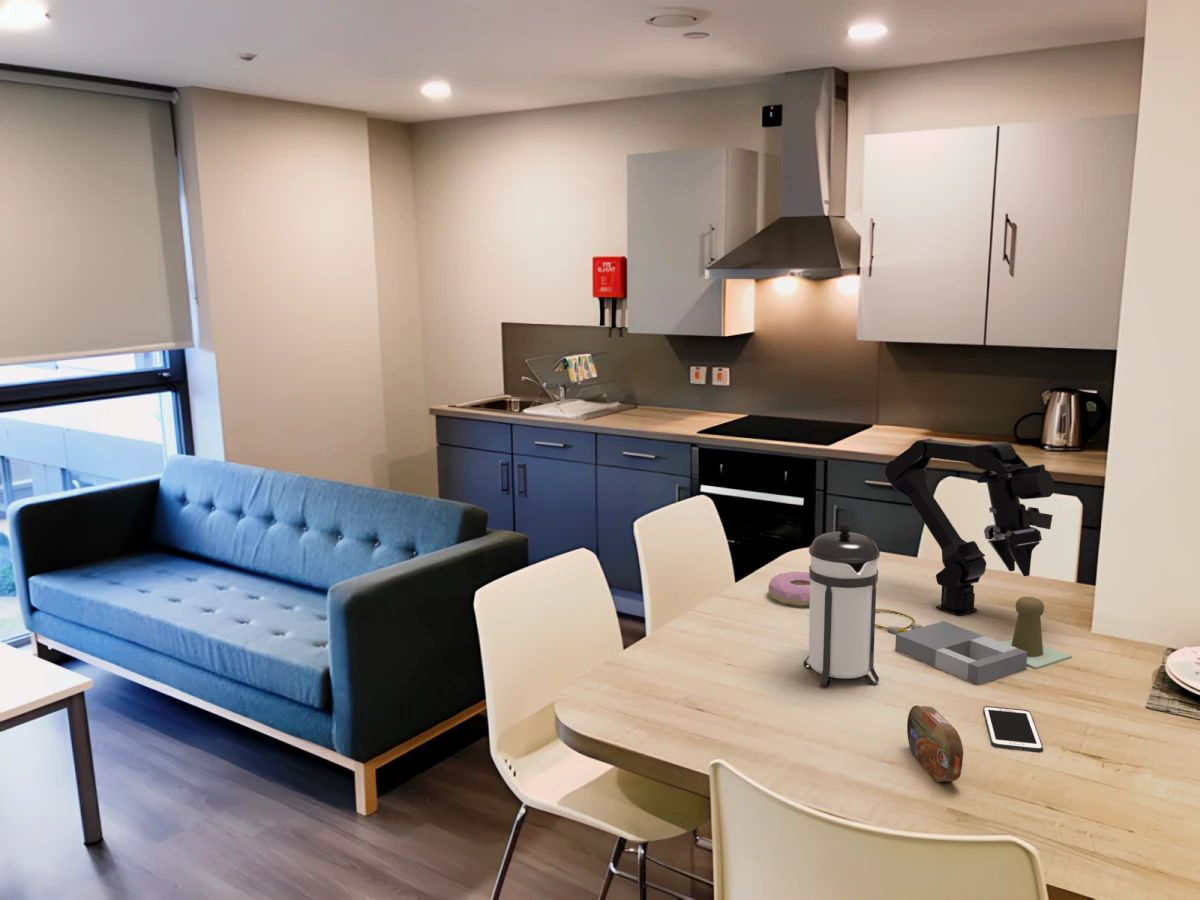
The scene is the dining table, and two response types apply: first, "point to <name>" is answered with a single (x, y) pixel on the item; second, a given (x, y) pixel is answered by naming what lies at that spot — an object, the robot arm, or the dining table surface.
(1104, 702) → the dining table surface
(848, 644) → the coffee press
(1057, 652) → the mat
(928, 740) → the tin
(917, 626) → the gold chain necklace
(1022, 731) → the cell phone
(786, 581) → the donut
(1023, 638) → the cork
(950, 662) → the socket block
